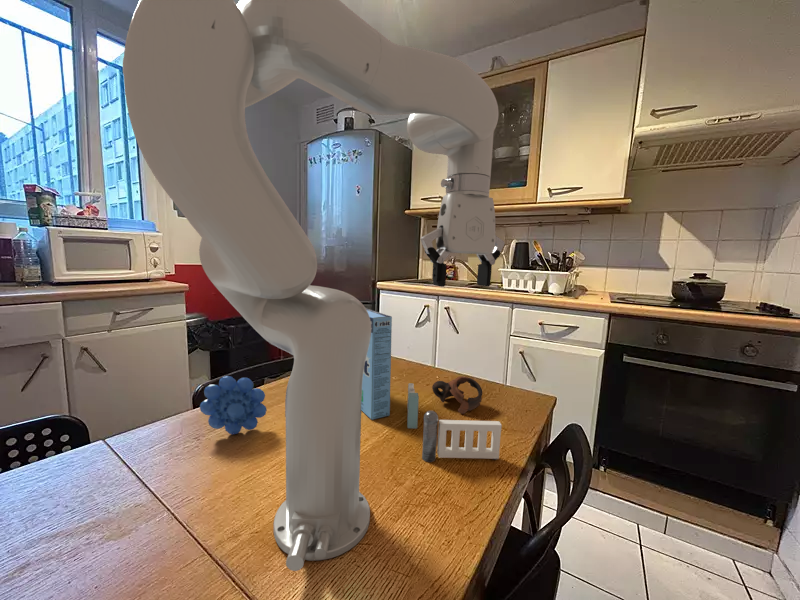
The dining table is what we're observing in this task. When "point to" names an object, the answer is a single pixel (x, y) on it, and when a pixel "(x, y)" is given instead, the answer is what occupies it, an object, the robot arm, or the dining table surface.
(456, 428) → the gate
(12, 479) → the dining table surface
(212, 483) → the dining table surface
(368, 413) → the gum box
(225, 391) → the blue flower
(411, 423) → the block
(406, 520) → the dining table surface
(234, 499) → the dining table surface
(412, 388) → the fence panel
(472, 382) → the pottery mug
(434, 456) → the hinge post
